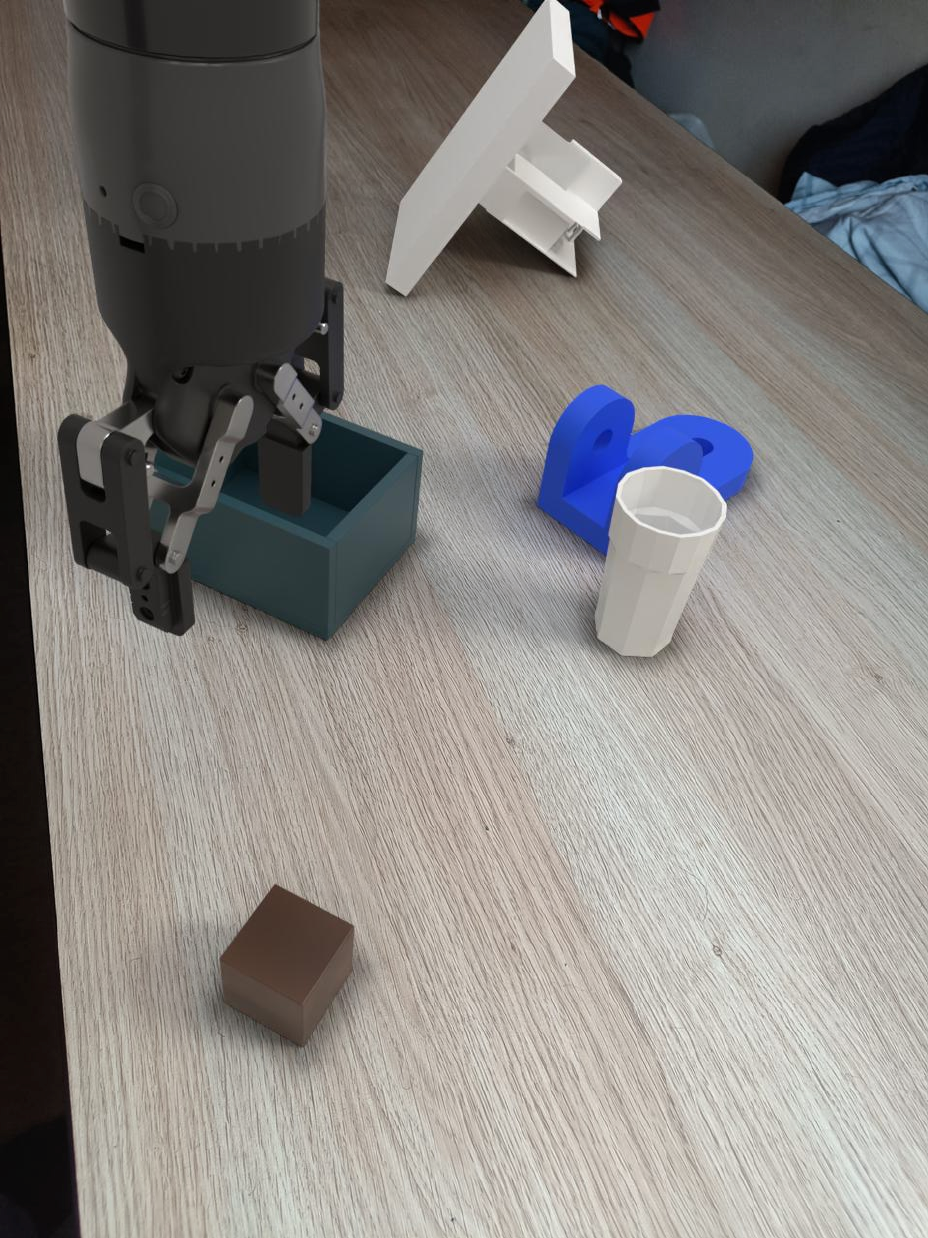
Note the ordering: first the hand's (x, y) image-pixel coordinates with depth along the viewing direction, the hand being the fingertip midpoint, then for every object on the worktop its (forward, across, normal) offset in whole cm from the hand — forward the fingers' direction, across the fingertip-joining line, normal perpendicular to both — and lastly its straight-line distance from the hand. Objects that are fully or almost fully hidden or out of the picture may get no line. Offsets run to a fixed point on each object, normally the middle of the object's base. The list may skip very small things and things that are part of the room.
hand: (229, 562), depth 45 cm
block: (+19, +7, +7) cm, 21 cm away
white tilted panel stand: (+18, -69, -16) cm, 73 cm away
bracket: (+18, -40, +10) cm, 45 cm away
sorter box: (+18, -19, -10) cm, 29 cm away
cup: (+18, -25, +14) cm, 34 cm away
